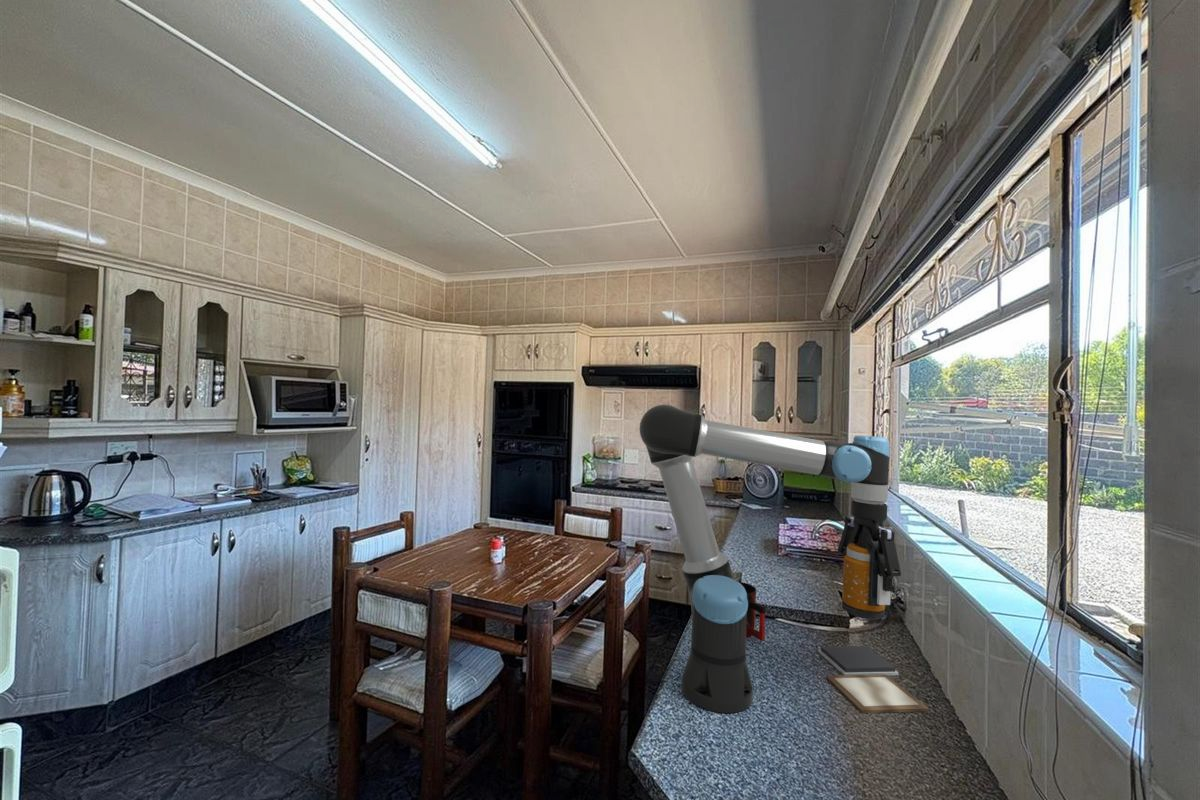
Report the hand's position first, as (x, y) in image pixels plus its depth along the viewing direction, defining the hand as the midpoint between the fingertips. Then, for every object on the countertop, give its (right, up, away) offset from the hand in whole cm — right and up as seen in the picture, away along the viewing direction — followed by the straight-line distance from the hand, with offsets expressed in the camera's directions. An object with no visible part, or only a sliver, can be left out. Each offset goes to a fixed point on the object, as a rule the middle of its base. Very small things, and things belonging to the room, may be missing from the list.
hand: (865, 594), depth 113 cm
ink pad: (+1, -20, +7) cm, 21 cm away
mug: (-22, -20, +22) cm, 37 cm away
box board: (-2, -19, -7) cm, 21 cm away
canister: (0, -5, 0) cm, 5 cm away
